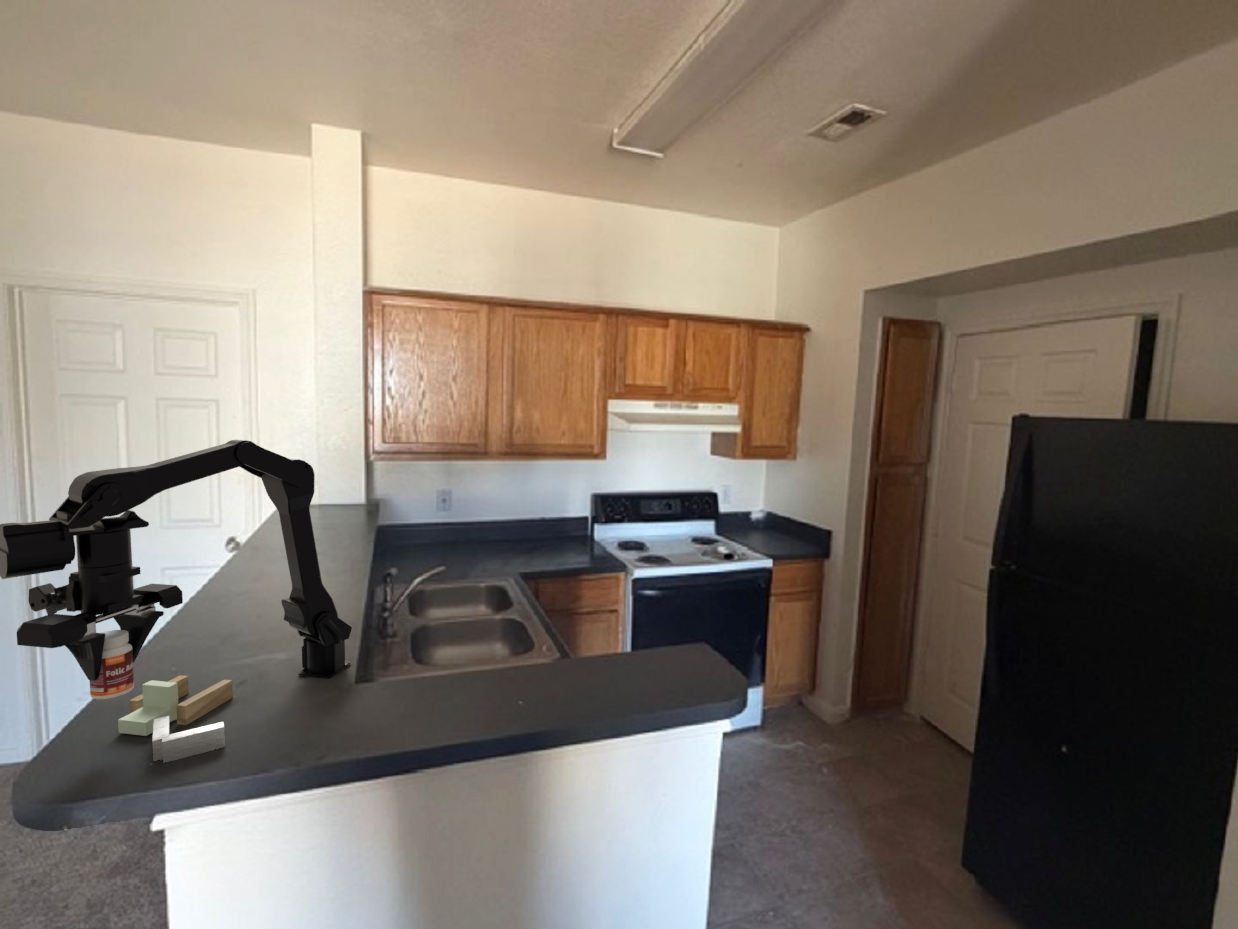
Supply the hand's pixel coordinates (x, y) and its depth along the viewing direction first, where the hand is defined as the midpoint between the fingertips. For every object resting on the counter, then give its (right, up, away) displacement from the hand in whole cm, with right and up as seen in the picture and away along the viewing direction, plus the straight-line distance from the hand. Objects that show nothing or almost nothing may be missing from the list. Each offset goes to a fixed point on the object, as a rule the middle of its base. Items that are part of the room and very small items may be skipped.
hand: (111, 672), depth 84 cm
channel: (+2, -10, +12) cm, 15 cm away
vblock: (+9, -11, 0) cm, 14 cm away
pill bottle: (0, -3, 0) cm, 3 cm away
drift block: (+1, -10, +6) cm, 12 cm away
